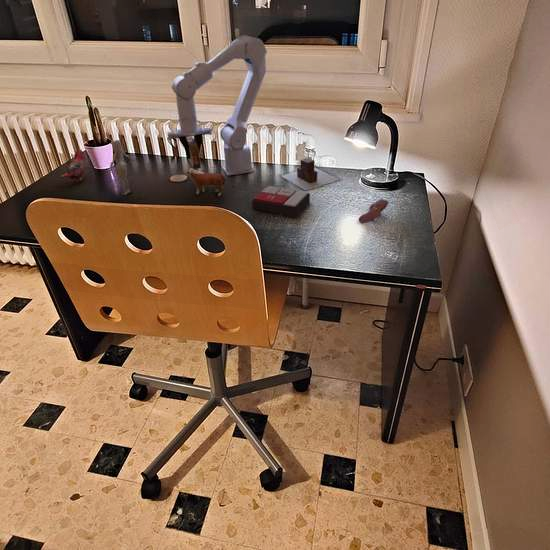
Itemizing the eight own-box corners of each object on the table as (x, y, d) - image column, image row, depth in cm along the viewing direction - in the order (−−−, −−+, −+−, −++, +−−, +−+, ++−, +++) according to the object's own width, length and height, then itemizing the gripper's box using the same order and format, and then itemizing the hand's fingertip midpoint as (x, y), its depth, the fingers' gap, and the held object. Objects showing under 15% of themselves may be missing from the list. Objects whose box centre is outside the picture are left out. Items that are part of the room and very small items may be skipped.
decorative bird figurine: (93, 173, 155) (85, 146, 149) (69, 194, 141) (60, 166, 135) (85, 173, 155) (77, 146, 149) (61, 194, 141) (51, 165, 135)
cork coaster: (185, 174, 153) (185, 173, 153) (188, 180, 149) (188, 179, 148) (169, 177, 152) (168, 175, 151) (171, 183, 147) (171, 182, 147)
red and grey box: (267, 184, 136) (310, 190, 131) (268, 196, 139) (310, 203, 133) (251, 198, 129) (295, 205, 123) (252, 210, 131) (296, 218, 125)
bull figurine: (191, 188, 144) (188, 165, 139) (227, 192, 141) (225, 169, 136) (185, 193, 140) (182, 170, 136) (222, 198, 137) (220, 174, 132)
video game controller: (368, 230, 122) (382, 214, 117) (356, 220, 123) (369, 204, 118) (381, 216, 129) (394, 200, 124) (369, 207, 129) (381, 191, 124)
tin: (201, 172, 142) (200, 147, 137) (192, 173, 141) (191, 148, 136) (193, 156, 153) (192, 133, 148) (185, 157, 152) (183, 133, 147)
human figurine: (135, 185, 146) (123, 133, 135) (143, 187, 144) (132, 135, 134) (110, 200, 137) (96, 145, 126) (119, 202, 136) (105, 147, 125)
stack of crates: (339, 179, 148) (341, 160, 144) (305, 190, 141) (306, 171, 137) (313, 166, 158) (313, 148, 154) (280, 175, 151) (280, 157, 147)
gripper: (166, 123, 132) (173, 164, 140) (212, 117, 136) (216, 158, 144) (164, 116, 138) (170, 157, 146) (207, 112, 141) (211, 151, 150)
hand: (193, 157), depth 145 cm, fingers closed on tin, 2 cm apart
